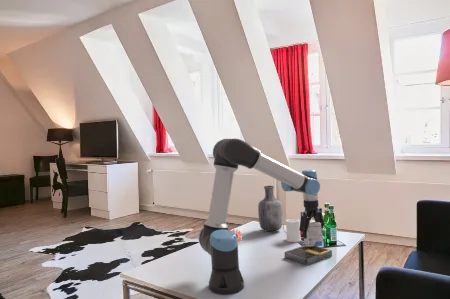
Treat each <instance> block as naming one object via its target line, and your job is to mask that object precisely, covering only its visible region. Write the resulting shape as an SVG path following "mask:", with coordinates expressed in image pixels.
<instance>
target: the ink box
mask: <svg viewBox="0 0 450 299" xmlns="http://www.w3.org/2000/svg"><path fill="white" fill-rule="evenodd" d="M307 232H308V236H309V245H306V244H304V246H306V247H309V246H319V247H322V246H323V236H322V233H323V231H322V232H321V223H320V222H315V221H310V223H309V226H308V230H307Z"/></svg>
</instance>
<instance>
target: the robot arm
mask: <svg viewBox="0 0 450 299" xmlns="http://www.w3.org/2000/svg"><path fill="white" fill-rule="evenodd" d="M212 155H213V158H214V159H213V160H214V161H213V167H214V169H215V172H214V173H215V175H214V179H213V187H212V192H211V199H210V204H209V211H208V217H207V220H205V221H204V223H203V227H202V229H200V231H199V234H198V243H199V244H200V247H201V248H202V250H203V251H205V252H206V253H207V254H208V255H209V256H210V257H211V258H210V260H211V272H210V277H209V281H208V289H209V291H210V290H211V291H210V292H212V293H213V292H214V293H213V294H216V295H233V294H236V293H238V292H241V291H242V290H243V289H244V287H245V282H244V277H243V275H242V273H241V272H242V271H241V270H240V265H239V264H240V262H239V248H238V247H239V246H238V245H239V243H238V236H237V234H236V233H235V232H234V231H233V230H229V225H228V224H227V218H228V213H229V206H230V205H229V204H230V200H231V194H232V186H233V180H234V175H235V172H236V171H237V170H238V168H239V166H241V167H245V168H247V169H250V170H251V169H254V170H256V171H258V172H261V173H262V174H264V175H266V176H269V177H271V178H272V179H275V180H277V181H279V182H280V184H281V189H282V191H284V192H297V193H302V197H303V201H302V202H303V207H304V211H301V212H300V219H299V220H300V229H299V230H300V232H302V238H303V244H304V245H305V244H306V245H309V236H308V232H307V230H308V226H309V223H310V222H311V220H312V219H313V221H314V222H320V223H321V232H322V233H323V228H324V227H325V221H324V216H323V208H321V207H319V199H318V198H319V196H318V195H319V192H320V190H321V184H320V181H319V180H318V174H317V171H316V170H315V169H303V170H302V171H301V172H299V171H297V170H295V169H294V168H291V167H289V166H288V165H285V164H283V163H281V162H279V161H277V160H275V159H274V158H271V157H270V156H267V155H266V154H264V153H262V152H261V149H259V148H257V147H255V146H253V145H252V144H250V143H248V142H246V141H245V140H242V139H239V138H224V139H221V140H219V141H217V142H216V143H215V145H214V146H213V148H212Z"/></svg>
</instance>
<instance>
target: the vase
mask: <svg viewBox="0 0 450 299" xmlns="http://www.w3.org/2000/svg"><path fill="white" fill-rule="evenodd" d="M263 189H264V194H265V195H264V198H263V199H261V200H260V201H259V202H258V205H257V206H258V209H257V211H258V212H257V213H258V215H257V216H258V224H259V227H260V228H261V230H263V231H264V232H269V233H274V232H278V231H279V230H281V229H282V228H283V224H284V220H283V219H284V218H283V216H284V215H283V214H284V213H283V205H282V201H281V200H279V199H277V198H276V197H275V194H274V189H275V185H266V186H265V185H264V186H263Z"/></svg>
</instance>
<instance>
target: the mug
mask: <svg viewBox="0 0 450 299" xmlns="http://www.w3.org/2000/svg"><path fill="white" fill-rule="evenodd" d="M300 220H301V219H298V218H289V219H286V220H285V221H284V222H283V224H282V230H283V232H284V233H285V234H286V241H287V242H289V243H299V242H301V241H302V238H301V231H300V230H299V229H300ZM285 225H286V229H285Z"/></svg>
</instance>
